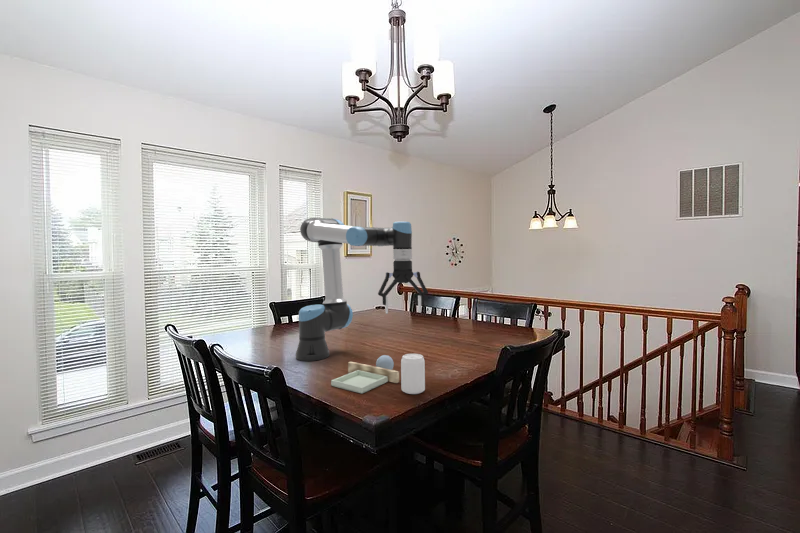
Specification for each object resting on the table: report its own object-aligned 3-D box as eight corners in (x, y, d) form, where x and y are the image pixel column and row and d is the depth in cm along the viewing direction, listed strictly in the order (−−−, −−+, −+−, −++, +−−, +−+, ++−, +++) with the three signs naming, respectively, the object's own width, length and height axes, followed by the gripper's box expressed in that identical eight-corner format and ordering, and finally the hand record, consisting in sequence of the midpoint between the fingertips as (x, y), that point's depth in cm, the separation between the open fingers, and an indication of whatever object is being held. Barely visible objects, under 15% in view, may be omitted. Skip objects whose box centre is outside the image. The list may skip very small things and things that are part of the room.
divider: (348, 372, 155) (348, 362, 155) (350, 371, 156) (350, 361, 156) (396, 383, 141) (396, 372, 141) (399, 382, 142) (399, 371, 142)
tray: (331, 385, 139) (331, 380, 139) (358, 375, 151) (358, 369, 151) (361, 393, 131) (361, 388, 131) (387, 381, 143) (387, 376, 142)
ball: (372, 373, 152) (372, 356, 152) (383, 369, 158) (383, 352, 158) (386, 376, 148) (386, 358, 148) (397, 372, 154) (397, 354, 154)
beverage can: (400, 387, 137) (399, 353, 136) (423, 386, 137) (422, 352, 137) (402, 395, 128) (402, 360, 128) (426, 394, 129) (426, 359, 129)
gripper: (372, 260, 150) (373, 315, 151) (435, 259, 154) (435, 312, 155) (371, 260, 158) (371, 312, 159) (430, 259, 162) (431, 309, 163)
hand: (403, 312), depth 157 cm, fingers open, 13 cm apart
